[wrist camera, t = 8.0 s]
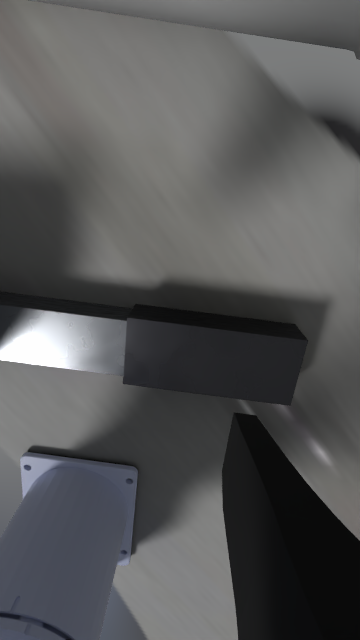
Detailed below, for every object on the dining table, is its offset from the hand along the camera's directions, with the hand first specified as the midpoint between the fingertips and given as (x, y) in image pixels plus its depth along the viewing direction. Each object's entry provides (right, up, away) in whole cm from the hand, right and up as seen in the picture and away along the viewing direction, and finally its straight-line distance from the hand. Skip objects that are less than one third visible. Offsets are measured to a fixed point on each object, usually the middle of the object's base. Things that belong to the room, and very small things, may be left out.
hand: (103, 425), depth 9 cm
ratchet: (-3, +2, +10) cm, 11 cm away
